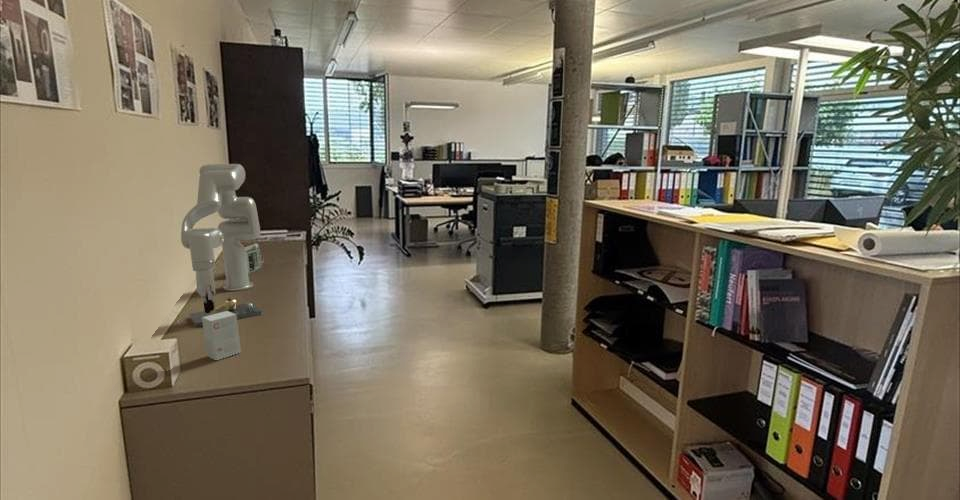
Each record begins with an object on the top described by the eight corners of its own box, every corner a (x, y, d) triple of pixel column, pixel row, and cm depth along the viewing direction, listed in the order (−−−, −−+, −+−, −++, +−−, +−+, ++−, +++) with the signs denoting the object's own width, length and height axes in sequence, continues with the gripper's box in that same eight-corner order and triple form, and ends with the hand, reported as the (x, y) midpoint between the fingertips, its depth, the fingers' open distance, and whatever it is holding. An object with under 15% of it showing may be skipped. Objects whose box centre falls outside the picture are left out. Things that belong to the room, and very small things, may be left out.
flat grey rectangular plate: (189, 317, 203) (188, 307, 203) (252, 305, 217) (251, 296, 216) (195, 327, 192) (194, 316, 191) (261, 314, 205) (260, 304, 205)
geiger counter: (237, 250, 261) (266, 241, 285) (225, 250, 262) (256, 241, 286) (240, 278, 264) (269, 266, 288) (228, 277, 265) (258, 266, 289)
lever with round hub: (207, 320, 194) (206, 308, 194) (228, 307, 209) (227, 296, 208) (219, 319, 194) (218, 308, 193) (239, 307, 209) (238, 296, 208)
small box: (232, 348, 171) (227, 310, 169) (241, 353, 167) (236, 314, 165) (206, 356, 165) (201, 316, 163) (215, 361, 161) (210, 321, 159)
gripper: (189, 263, 200) (195, 309, 204) (195, 270, 188) (202, 319, 192) (211, 260, 204) (216, 305, 208) (218, 267, 192) (224, 315, 196)
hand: (209, 312), depth 200 cm, fingers closed
